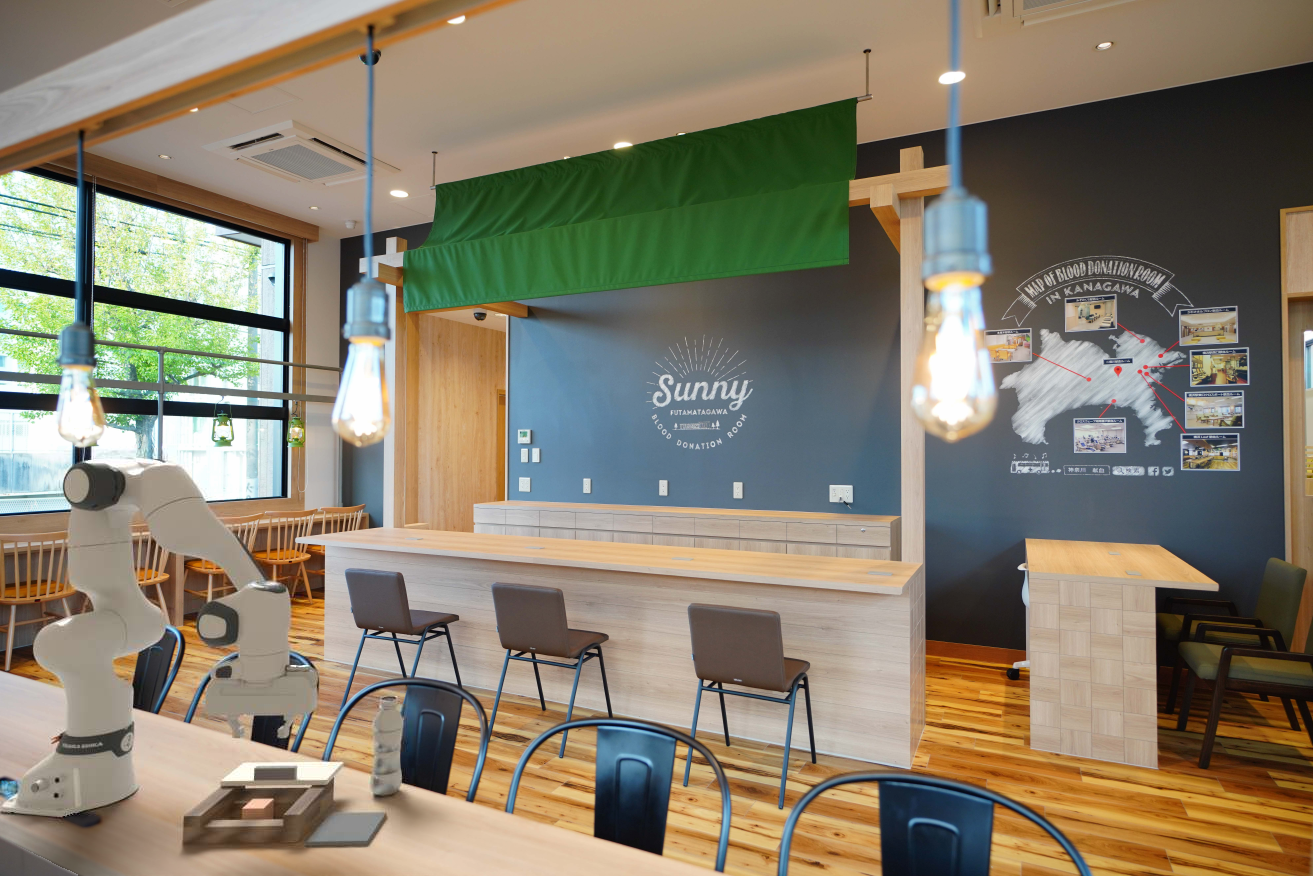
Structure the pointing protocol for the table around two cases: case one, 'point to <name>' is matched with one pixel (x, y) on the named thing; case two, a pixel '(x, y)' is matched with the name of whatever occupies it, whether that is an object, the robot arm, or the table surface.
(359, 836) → the coaster
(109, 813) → the table surface
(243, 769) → the lid
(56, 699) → the table surface
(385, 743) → the plastic bottle
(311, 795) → the wooden box
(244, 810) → the block
